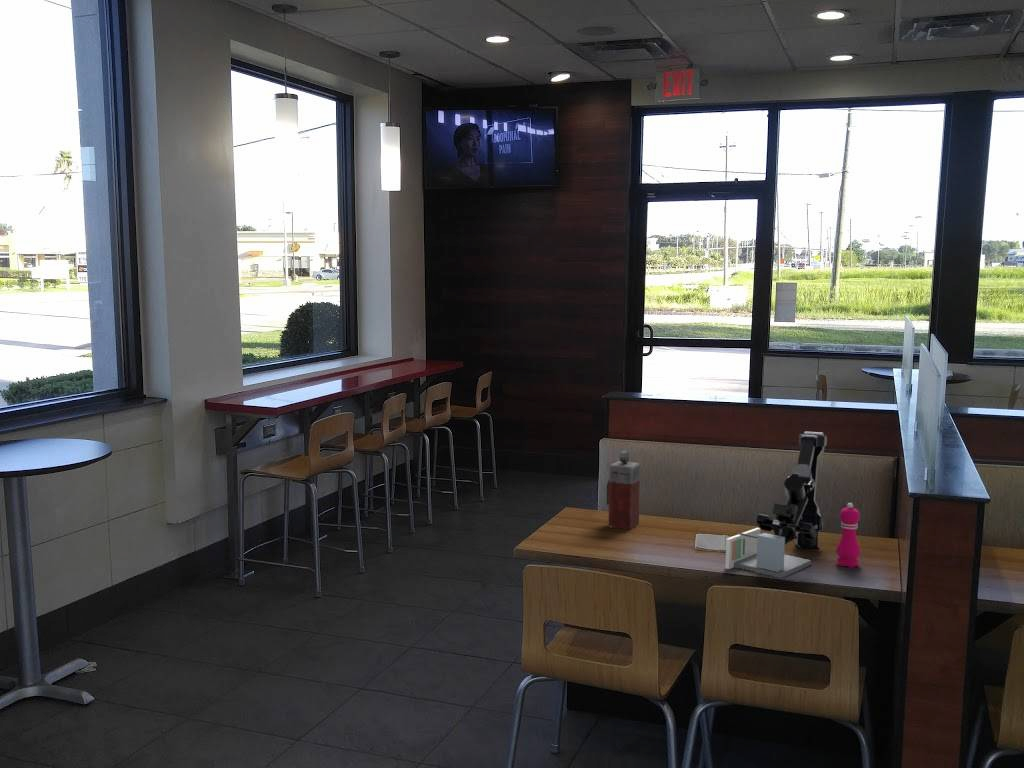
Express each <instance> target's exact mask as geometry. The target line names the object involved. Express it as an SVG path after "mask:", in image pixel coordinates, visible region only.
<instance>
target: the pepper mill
mask: <svg viewBox="0 0 1024 768" xmlns="http://www.w3.org/2000/svg"><path fill="white" fill-rule="evenodd" d="M846 506H847V507H844V508H842V509H841V510H840V512H839V519H840V520H841V522H840V523H841V525H840V527H841V530H842V532H841V536H840V538H839V541H838V543H837V545H836V549H835V550H836V554H837V555H838V557H837V561H836V562H837V565H838V564H839V565H838V566H840V565H842V566H841V567H843V566H849V567H848V568H856V567H855V566H857V567H859V562H860V561H859V559H858V558H859V557H860V556H861V553H862V552H861V547H860V543H859V542H858V538H857V529H858V527H859V526H858V525H859V523H858V522H859V520H860V519H861V515H860V512H859V510H858V509H856V508H854V504H853V503H852V502H848V503H847V504H846Z"/></svg>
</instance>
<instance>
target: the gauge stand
mask: <svg viewBox="0 0 1024 768" xmlns="http://www.w3.org/2000/svg"><path fill="white" fill-rule="evenodd" d="M761 531H762V530H761V529H760V528H759V527H756V528H752V529H750V530H747V531H744V532H742V533H743V534H748V535H753V536H757V535H759V534H762V533H761ZM725 540H726V542H725V569H726V570H731V569H733V568H736V569H739V568H741V569H740V570H744V569H745V570H744V571H748V570H750V571H749V572H752V571H754V572H753V573H756V572H759V573H758V574H760V573H762V574H761V575H764V574H768V575H767V576H769V575H772V576H771V577H773V576H775V577H774V578H777V577H778V578H777V579H782V577H783V578H785V577H787V576H790V575H792V574H794V573H796V572H798V570H799V571H800V570H803V569H805V568H807V567H810V566H811V565H812V560H810V559H807V558H802V557H798V556H793V555H788V554H785V553H784V569H783V570H781V571H778V572H776V571H771V570H767V569H763V568H759V567H757V538H753V537H748V536H743V535H739V533H738V534H736V535H733V536H729V537H727V538H726V539H725ZM809 565H810V566H809ZM791 573H792V574H791ZM789 574H790V575H789Z"/></svg>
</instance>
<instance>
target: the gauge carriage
mask: <svg viewBox="0 0 1024 768" xmlns="http://www.w3.org/2000/svg"><path fill="white" fill-rule="evenodd" d="M743 533H744V532H738V534H739V535H743V536H748V537H753V538H757V567H759V568H763V569H767V570H771V571H776V572H778V571H781V570H783V569H784V554H785V547H786V544H785V537H782V536H777V535H774V534H771V533H767V532H763V533H760V534H759V535H757V536H753V535H748V534H743Z"/></svg>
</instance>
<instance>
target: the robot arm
mask: <svg viewBox="0 0 1024 768" xmlns="http://www.w3.org/2000/svg"><path fill="white" fill-rule="evenodd" d="M798 436H799V437H798V445H799V446H800V450H799V455H798V459H797V463H796V466H795V467H794V468H793V469H792V468H791V471H790V475H789V476H787V478H786V479H785V480H784V482H783V484H784V490H785V495H786V498H787V500H786V502H785V503H784V504H782V503H777V502H773V506H772V510H771V514H774V515H775V519H772V517H771V516H770V515H768V514H763V513H759V514H757V515H756V516H755V518H754V521H755V522H756V523H755V524H757V526H758V528H760V529H761V531H765V532H771V531H773V533H774V534H773V535H777V536H782V537H785V545H786V544H788V543H789V542H792V541H793V540H794V545H796V546H797V547H798V548H799V549H820V546H819V532H820V531H823V527H824V524H823V517H822V514H821V513H820V507H819V506H818V504H817V502H816V496H817V495H816V494H817V482H818V471H819V459H820V457H821V456H822V455H823V454H824V453H825V447H826V446H827V445H828V436H827V435H824V432H820V431H819V432H818V431H817V432H816V431H804V432H803V433H800V434H799V435H798Z"/></svg>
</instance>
